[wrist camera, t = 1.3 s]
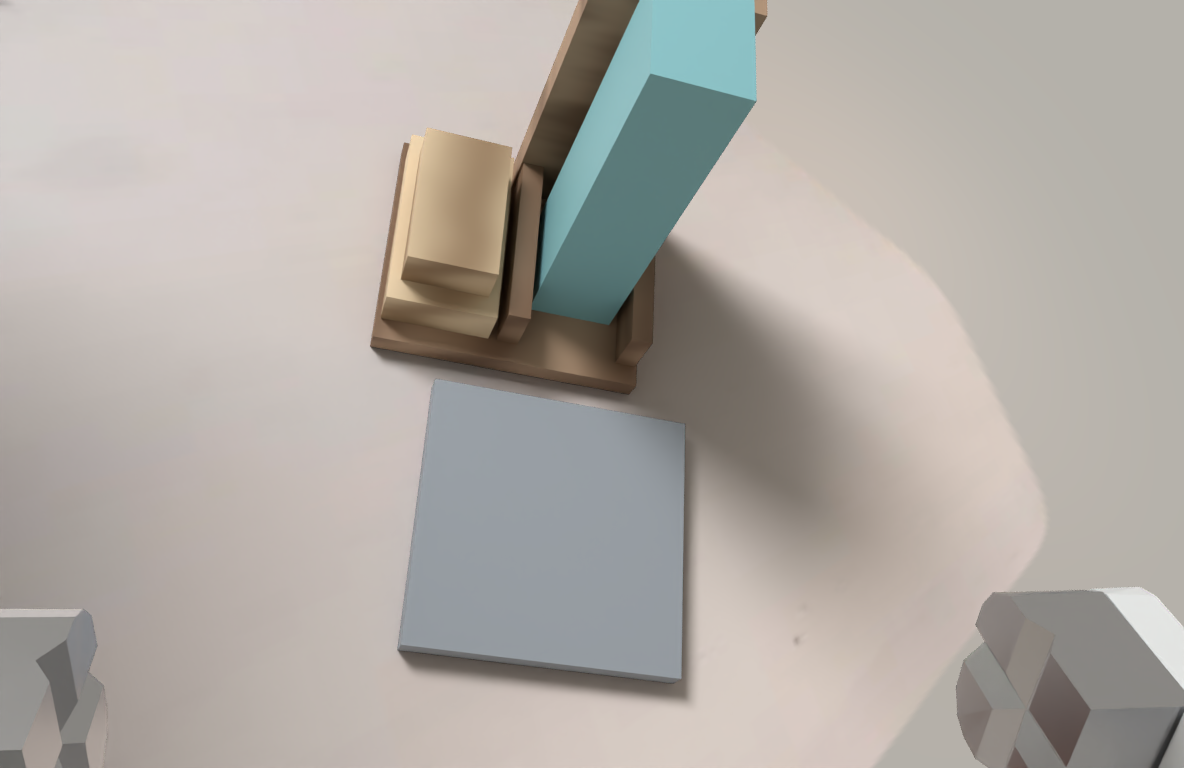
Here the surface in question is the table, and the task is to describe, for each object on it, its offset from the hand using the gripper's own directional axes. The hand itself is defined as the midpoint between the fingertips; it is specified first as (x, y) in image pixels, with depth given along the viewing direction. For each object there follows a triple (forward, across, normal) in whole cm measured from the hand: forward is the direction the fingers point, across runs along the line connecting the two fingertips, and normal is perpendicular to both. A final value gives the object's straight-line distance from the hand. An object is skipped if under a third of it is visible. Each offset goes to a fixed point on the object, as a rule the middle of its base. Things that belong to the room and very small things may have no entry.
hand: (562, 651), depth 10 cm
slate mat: (+32, -5, +23) cm, 40 cm away
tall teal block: (+42, -6, +15) cm, 45 cm away
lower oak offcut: (+42, 0, +13) cm, 44 cm away
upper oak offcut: (+41, -1, +12) cm, 43 cm away
